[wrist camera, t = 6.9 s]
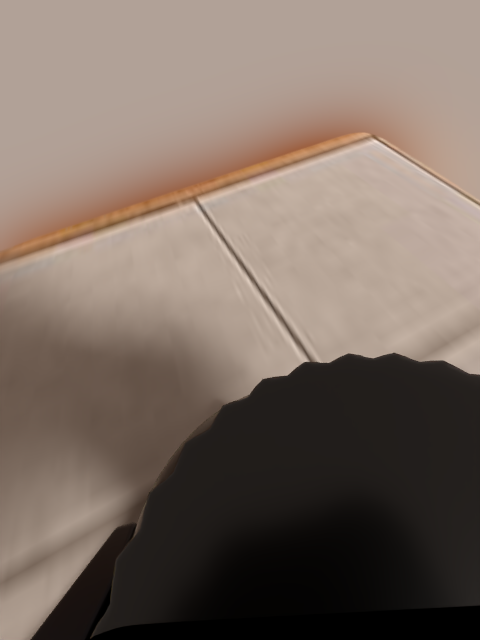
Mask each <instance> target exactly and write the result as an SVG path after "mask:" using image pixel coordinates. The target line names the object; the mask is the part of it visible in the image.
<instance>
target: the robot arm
mask: <svg viewBox="0 0 480 640" xmlns="http://www.w3.org/2000/svg"><path fill="white" fill-rule="evenodd" d="M136 526H137V524H136V523H130V524H127V525H123V526H120V527H118V528H116V529H115V530H114V531H113V533H112V534H111V535H110V537H109V538H108V539H107V541H106V542H105V543H104V545H103V546H102V547H101V548H100V550H99V551H98V552H97V554H96V555H95V556H94V558H93V559H92V560H91V562H90V563H89V564H88V565H87V567H86V568H85V569H84V571H83V572H82V573H81V575H80V576H79V577H78V579H77V580H76V581H75V582H74V584H73V585H72V586H71V588H70V589H69V590H68V592H67V593H66V594H65V595H64V597H63V598H62V599H61V601H60V602H59V603H58V605H57V606H56V607H55V609H54V610H53V611H52V612H51V614H50V615H49V616H48V618H47V619H46V620H45V622H44V623H43V624H42V626H41V627H40V628H39V629H38V631H37V632H36V633H35V635H34V636H33V637H32V639H31V640H90V638H91V636H92V634H93V632H94V630H95V628H96V626H97V624H98V622H99V621H100V620H101V618H102V617H103V616H104V614H105V613H106V611H107V609H108V607H109V605H110V598H111V587H112V578H113V573H114V567H115V562H116V558H117V557H118V556H119V554H120V553H121V551H122V550H123V549H124V547H125V546H126V545H127V543H128V542H129V541H130V540H131V539H132V538H133V534H134V532H135V529H136Z"/></svg>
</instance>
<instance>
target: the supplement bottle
mask: <svg viewBox="0 0 480 640" xmlns="http://www.w3.org/2000/svg"><path fill="white" fill-rule="evenodd" d="M90 640H480V375H476V374H468V373H466V372H465V371H463V370H461V369H459V368H457V367H455V366H453V365H451V364H449V363H447V362H445V361H425V362H418V361H415V360H412V359H410V358H408V357H405V356H402V355H399V354H396V353H392V354H387V355H383V356H380V357H377V358H374V359H373V358H367V357H363V356H361V355H355V354H346V355H344V356H342V357H339V358H337V359H336V360H334V361H332V362H330V363H319V362H304V363H303V364H301V365H300V366H298V367H297V368H296V369H295V370H293V371H292V372H291V373H290V374H289V375H288V376H279V377H272V378H267V379H263V380H262V381H261V382H260V383H259V384H258V385H257V386H256V387H255V388H254V390H253V391H252V392H251V393H250V395H247V396H245V397H243V398H241V399H239V400H237V401H233V402H231V403H228V404H226V405H223V406H222V408H221V409H220V411H218V412H217V413H215V414H214V415H213V416H211V417H210V418H209V419H207V420H206V421H205V422H204V423H203V424H202V425H200V426H199V427H198V428H197V429H196V430H195V431H194V432H193V433H192V434H191V435H190V436H189V437H188V438H187V439H186V440H185V441H184V442H183V444H182V445H181V446H180V447H179V449H178V450H177V451H176V452H175V454H174V455H173V456H172V457H171V459H170V460H169V462H168V463H167V465H166V466H165V468H164V469H163V471H162V472H161V474H160V476H159V477H158V479H157V481H156V483H155V485H154V487H153V488H152V490H151V492H150V493H149V495H148V499H147V501H146V503H145V505H144V508H143V510H142V512H141V515H140V518H139V520H138V523H137V526H136V529H135V532H134V534H133V538H132V539H131V540H130V541H129V542H128V543H127V545H126V546H125V547H124V549H123V550H122V551H121V553H120V554H119V556H118V557H117V558H116V562H115V567H114V573H113V578H112V587H111V598H110V605H109V607H108V609H107V611H106V613H105V614H104V616H103V617H102V618H101V620H100V621H99V622H98V624H97V626H96V628H95V630H94V632H93V634H92V636H91V638H90Z"/></svg>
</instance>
